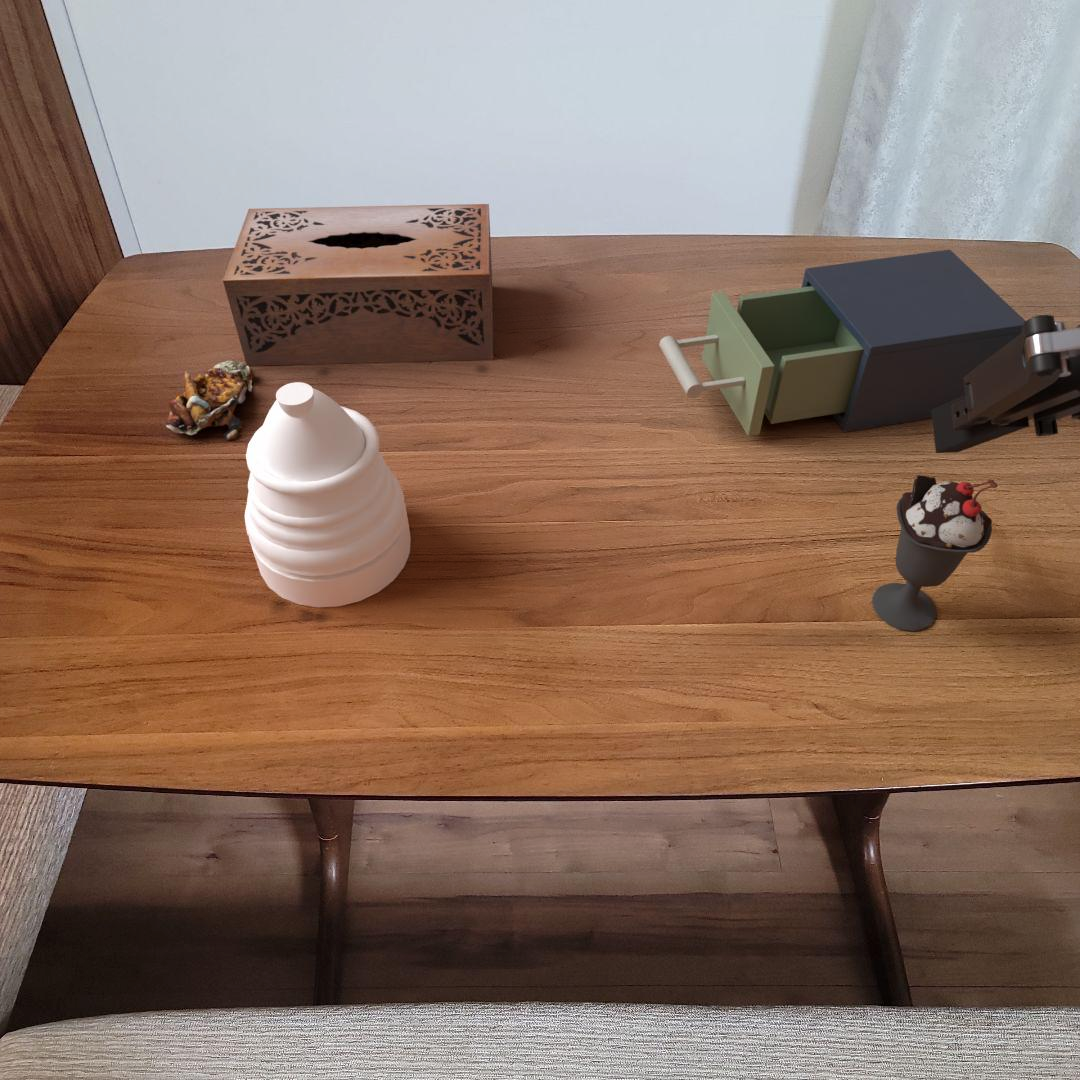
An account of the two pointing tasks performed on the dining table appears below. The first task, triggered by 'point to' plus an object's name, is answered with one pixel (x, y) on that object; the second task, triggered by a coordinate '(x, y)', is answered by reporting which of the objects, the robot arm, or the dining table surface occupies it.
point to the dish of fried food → (211, 400)
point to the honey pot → (323, 502)
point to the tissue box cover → (363, 284)
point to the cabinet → (912, 331)
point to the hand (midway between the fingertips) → (944, 431)
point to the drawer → (772, 357)
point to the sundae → (931, 547)
